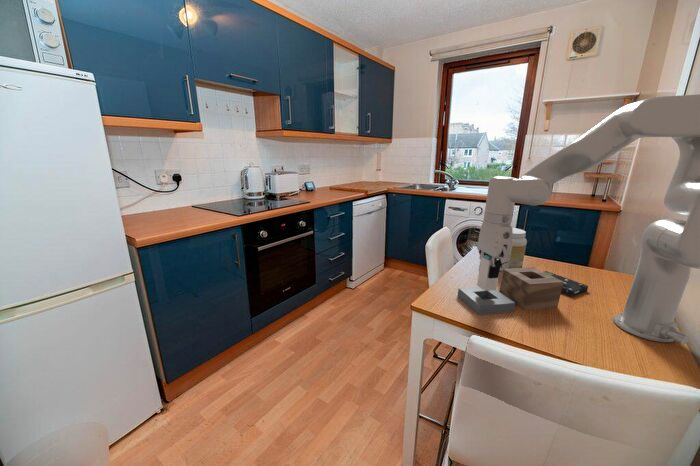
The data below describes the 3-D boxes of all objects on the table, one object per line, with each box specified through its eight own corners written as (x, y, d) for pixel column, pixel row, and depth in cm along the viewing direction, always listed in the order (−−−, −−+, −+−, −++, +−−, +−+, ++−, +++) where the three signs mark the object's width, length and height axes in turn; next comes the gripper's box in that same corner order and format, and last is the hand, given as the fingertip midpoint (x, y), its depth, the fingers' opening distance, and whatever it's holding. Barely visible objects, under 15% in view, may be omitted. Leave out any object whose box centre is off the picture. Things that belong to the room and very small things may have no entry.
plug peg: (496, 289, 90) (501, 257, 87) (484, 290, 90) (489, 258, 87) (488, 284, 94) (492, 252, 91) (477, 285, 94) (481, 253, 90)
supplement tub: (521, 266, 125) (528, 229, 120) (521, 276, 115) (529, 235, 110) (490, 260, 131) (496, 225, 126) (488, 269, 121) (494, 231, 116)
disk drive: (586, 292, 103) (544, 276, 116) (588, 285, 103) (546, 270, 115) (571, 298, 99) (528, 281, 111) (573, 291, 98) (530, 274, 111)
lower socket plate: (513, 311, 89) (515, 302, 88) (478, 314, 87) (480, 305, 86) (488, 293, 100) (490, 285, 99) (457, 295, 98) (458, 287, 97)
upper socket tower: (557, 307, 92) (563, 281, 89) (524, 310, 90) (530, 284, 87) (528, 290, 103) (533, 267, 101) (499, 292, 101) (503, 268, 98)
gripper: (529, 225, 78) (517, 285, 83) (490, 212, 94) (482, 264, 99) (505, 225, 77) (494, 287, 82) (470, 213, 93) (462, 265, 98)
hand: (488, 274), depth 91 cm, fingers closed on plug peg, 4 cm apart
